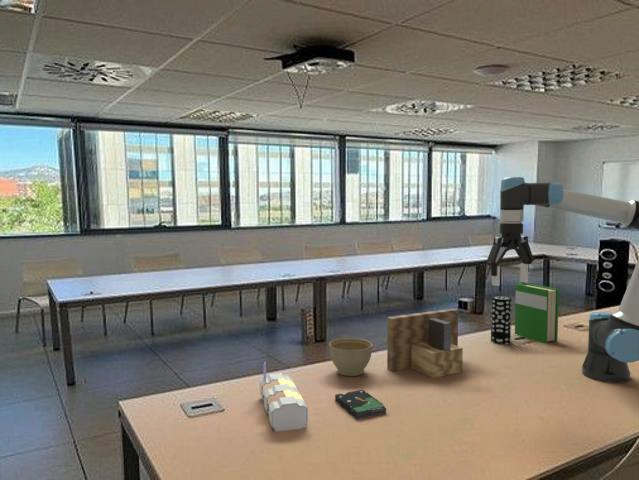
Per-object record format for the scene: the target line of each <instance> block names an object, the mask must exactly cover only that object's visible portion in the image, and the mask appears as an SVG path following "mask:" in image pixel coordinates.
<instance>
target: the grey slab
mask: <svg viewBox="0 0 639 480" xmlns="http://www.w3.org/2000/svg"><path fill="white" fill-rule="evenodd" d="M428 345H430V346H432V347H434V348H436V349H439V350H443V351H447V350H450V346H451V323H449V322H446V321H443V320H440V319H436V318H431V319H428Z"/></svg>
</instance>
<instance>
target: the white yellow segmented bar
mask: <svg viewBox="0 0 639 480" xmlns="http://www.w3.org/2000/svg"><path fill="white" fill-rule="evenodd" d="M266 365H267V363H266V361H264V363H263V367H262V368H263V371H262V372H263V375H262V376H263V377H262V378H261V379H260V380H259V395H260V397H261V400H262V401H263V405H264V409H265V411H266V413H267V415H268V421H269V423H270V426H271V428H272V429H273V430H274V431H275V432H276V433H277V432H284V431H291V430H299V429H305V427H306V425H307V424H308V422H309V418H308V417H309V416H308V415H309V413H308V412H309V409H308V407H307V404H306V402H305V401H304V399H303V397H302V395H301V393H300V391H299V390H298V388H297V386H296V384H295V382H294V381H293V379H292V377H291V376H289V375H288V374H287V375H285V374H283V373H282V372H279V373H269V374H268V375H267V368H266V367H267V366H266ZM273 381H278V383H279V384H274V385H273V386H272V387H271V388H267V389H266V390H264V386H266V385H268V384H271V382H273ZM277 393H283V395H284V396H282V397H279V398H278V399H277V400H274V401H271V402H270V403H268V402H269V401H268V399H269V397H272V396H273V397H274V396H276V395H277Z"/></svg>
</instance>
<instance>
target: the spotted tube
mask: <svg viewBox="0 0 639 480" xmlns="http://www.w3.org/2000/svg"><path fill="white" fill-rule="evenodd" d="M490 309H491V311H490V312H491V314H490V315H491V316H490V319H491V320H490V321H491V322H490V342H491V343H494V344H498V345H509V344H511V336H512V335H511V333H512V332H511V331H512V328H511V327H512V326H511V325H512V320H511V319H512V297H509V296H503V295H502V296H501V295H497V296H496V295H494V296H492V297H491V308H490Z"/></svg>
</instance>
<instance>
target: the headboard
mask: <svg viewBox="0 0 639 480" xmlns="http://www.w3.org/2000/svg"><path fill="white" fill-rule="evenodd" d="M431 318H436V319H440V320H443V321H446V322H449V323H451V346H450V350H447V351H443V350H439V349H436V348H434V347H432V346H430V345H428V319H431ZM386 323H387V326H386V327H387V328H386V329H387V331H386V332H387V336H386V337H387V341H386V343H387V345H386V348H387V349H386V350H387V352H386V354H387V357H386V358H387V359H386V361H387V362H386V364H387V366H386V367H387V370H388V369H389V370H388V371H390V372H396V370H397V371H401V370H406V369H413V370H415V371H418V372H419V373H422V374H424V375H426V376H427V377H430V378H431V379H434V378H440V377H444V376H449V375H453V374H458V373H463V362H464V361H463V360H464V359H463V355H464V354H463V353H464V351H463V349H464V348H463V347H460V346H458V345H459V343H458V342H459V341H458V340H459V309H456V308H447V309H440V310H432V311H424V312H417V313H409V314H400V315H394V316H388V317H387V322H386Z"/></svg>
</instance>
